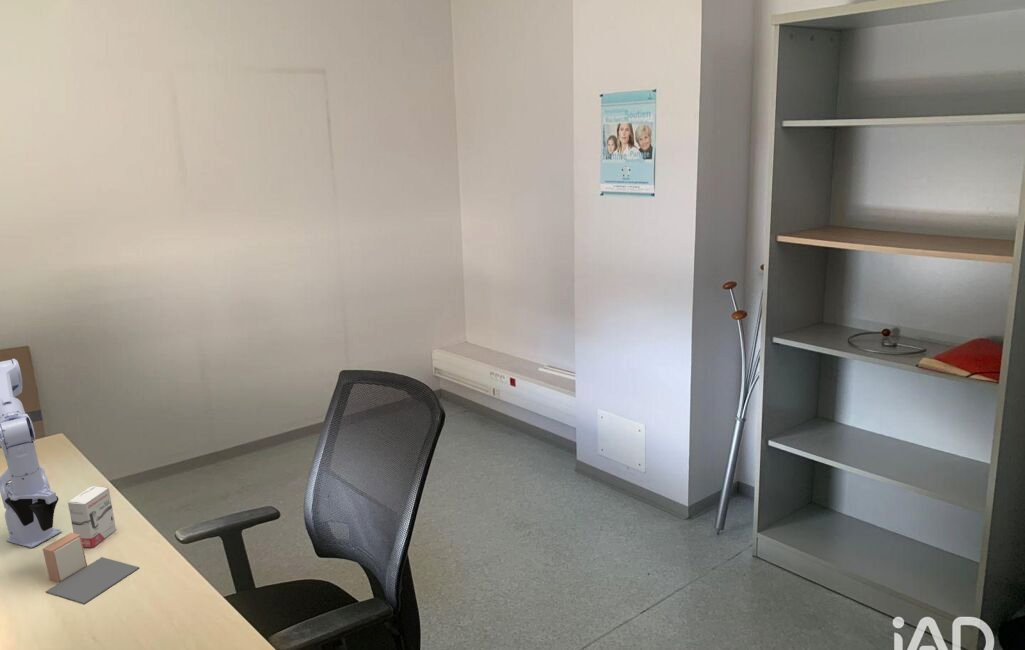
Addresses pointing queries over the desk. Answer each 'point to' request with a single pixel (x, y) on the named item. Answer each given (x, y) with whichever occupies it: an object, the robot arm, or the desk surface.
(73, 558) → the salmon tan block
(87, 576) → the rubber mat
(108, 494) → the ink box
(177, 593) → the desk surface
